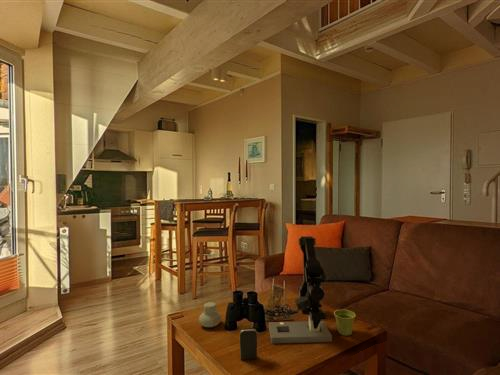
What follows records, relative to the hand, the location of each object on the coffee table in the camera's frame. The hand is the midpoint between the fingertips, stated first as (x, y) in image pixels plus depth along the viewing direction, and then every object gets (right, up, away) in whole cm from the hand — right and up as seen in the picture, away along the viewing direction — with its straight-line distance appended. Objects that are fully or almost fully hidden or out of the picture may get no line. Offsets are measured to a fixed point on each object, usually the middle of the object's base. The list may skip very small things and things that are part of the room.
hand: (314, 326), depth 137 cm
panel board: (-7, -4, 0) cm, 8 cm away
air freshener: (-48, -4, +10) cm, 50 cm away
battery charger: (-30, -5, -17) cm, 34 cm away
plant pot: (+14, -4, +1) cm, 15 cm away
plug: (0, -4, 0) cm, 4 cm away
